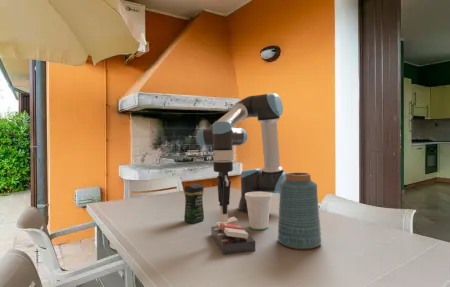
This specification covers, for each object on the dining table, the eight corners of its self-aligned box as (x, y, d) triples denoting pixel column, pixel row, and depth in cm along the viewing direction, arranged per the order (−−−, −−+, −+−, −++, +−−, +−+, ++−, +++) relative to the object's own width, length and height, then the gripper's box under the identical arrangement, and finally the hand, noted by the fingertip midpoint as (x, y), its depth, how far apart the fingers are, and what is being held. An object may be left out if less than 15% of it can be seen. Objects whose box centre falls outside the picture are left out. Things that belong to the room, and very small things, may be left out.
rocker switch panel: (233, 227, 125) (233, 217, 125) (255, 250, 98) (255, 238, 98) (208, 229, 122) (208, 219, 122) (223, 254, 95) (222, 241, 95)
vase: (315, 254, 94) (314, 177, 94) (271, 245, 103) (270, 175, 102) (325, 239, 108) (324, 172, 107) (286, 232, 116) (284, 170, 116)
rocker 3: (243, 234, 104) (244, 229, 104) (247, 238, 99) (248, 233, 99) (223, 231, 102) (224, 227, 102) (226, 235, 97) (227, 231, 97)
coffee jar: (192, 224, 130) (191, 186, 130) (181, 221, 135) (181, 184, 135) (207, 220, 137) (206, 183, 137) (196, 217, 142) (196, 182, 142)
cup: (274, 224, 128) (274, 192, 128) (270, 232, 117) (269, 197, 116) (249, 222, 132) (248, 190, 132) (242, 230, 121) (241, 196, 121)
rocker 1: (234, 220, 116) (233, 216, 116) (238, 223, 112) (237, 219, 112) (217, 226, 114) (216, 222, 114) (219, 229, 110) (218, 225, 110)
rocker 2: (238, 229, 110) (239, 224, 110) (242, 232, 105) (243, 228, 105) (219, 226, 108) (220, 222, 108) (222, 230, 103) (223, 225, 104)
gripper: (210, 160, 111) (211, 217, 111) (217, 162, 98) (218, 227, 99) (227, 159, 113) (229, 216, 113) (237, 162, 100) (238, 225, 101)
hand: (224, 221), depth 106 cm, fingers closed
